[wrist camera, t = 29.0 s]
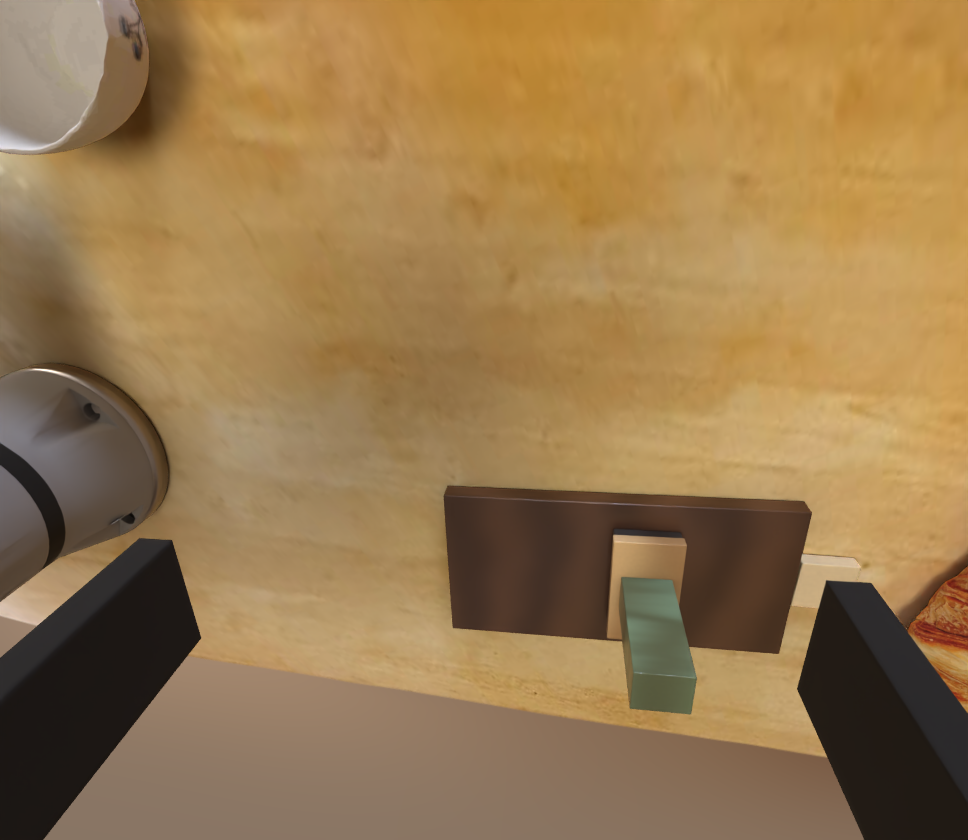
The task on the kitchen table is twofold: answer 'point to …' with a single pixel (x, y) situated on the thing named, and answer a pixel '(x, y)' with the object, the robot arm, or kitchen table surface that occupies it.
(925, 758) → the robot arm
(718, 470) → the kitchen table surface
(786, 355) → the kitchen table surface
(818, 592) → the cream square tile
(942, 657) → the croissant
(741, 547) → the walnut board
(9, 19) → the teacup
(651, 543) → the green block on base
